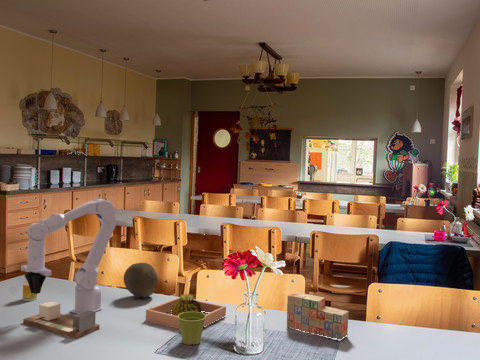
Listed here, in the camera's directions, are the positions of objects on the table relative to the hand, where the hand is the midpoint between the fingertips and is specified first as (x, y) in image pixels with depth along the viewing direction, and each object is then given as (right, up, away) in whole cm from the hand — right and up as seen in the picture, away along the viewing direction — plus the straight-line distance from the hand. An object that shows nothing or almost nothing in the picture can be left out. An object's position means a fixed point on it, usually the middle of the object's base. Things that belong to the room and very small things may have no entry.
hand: (35, 292), depth 172 cm
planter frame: (+55, -11, +6) cm, 56 cm away
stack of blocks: (+102, -14, -4) cm, 103 cm away
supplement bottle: (-13, -9, +23) cm, 28 cm away
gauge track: (+12, -10, -7) cm, 17 cm away
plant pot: (+59, -12, -17) cm, 62 cm away
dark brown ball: (+32, -10, +32) cm, 46 cm away
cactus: (+54, -12, +5) cm, 56 cm away
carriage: (+6, -8, -5) cm, 11 cm away
